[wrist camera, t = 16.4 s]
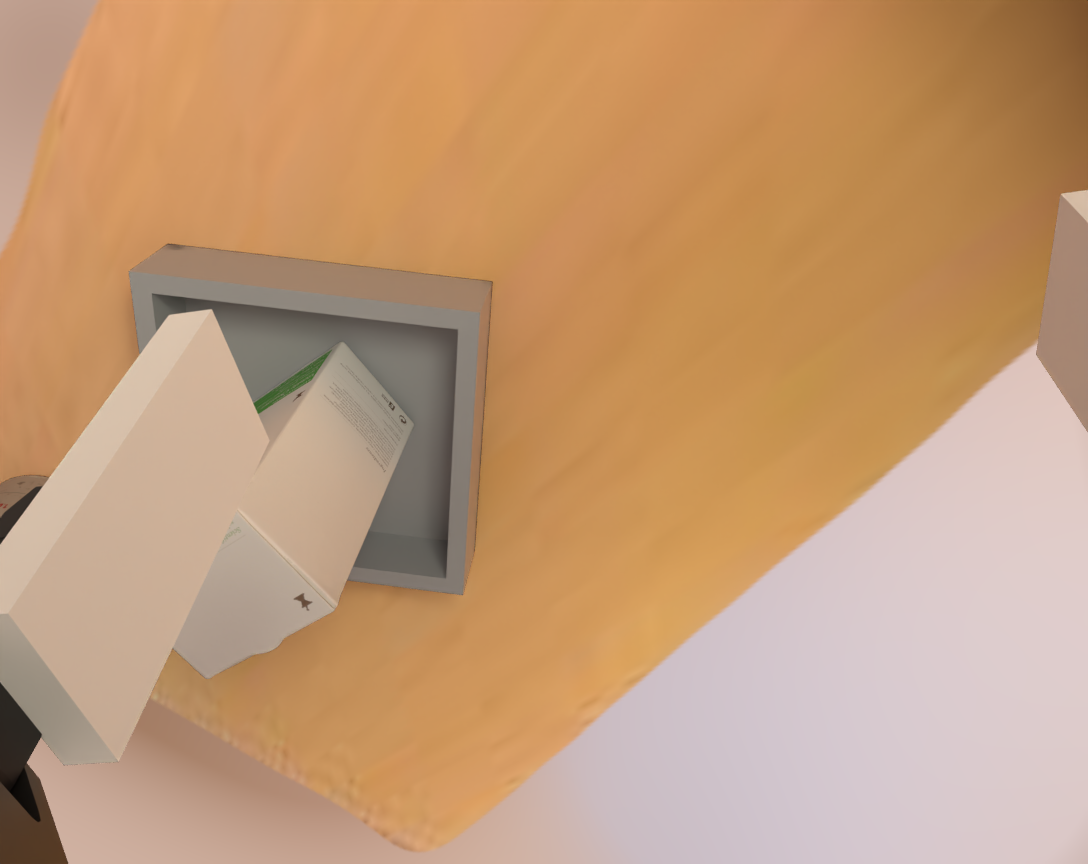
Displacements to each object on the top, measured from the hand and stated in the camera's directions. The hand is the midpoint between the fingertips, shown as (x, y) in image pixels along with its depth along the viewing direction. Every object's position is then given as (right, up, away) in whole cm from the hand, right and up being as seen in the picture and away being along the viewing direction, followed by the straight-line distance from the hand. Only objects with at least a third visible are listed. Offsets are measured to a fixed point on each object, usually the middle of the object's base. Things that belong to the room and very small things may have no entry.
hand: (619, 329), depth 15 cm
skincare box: (-13, -1, +38) cm, 40 cm away
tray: (-13, 0, +38) cm, 40 cm away
